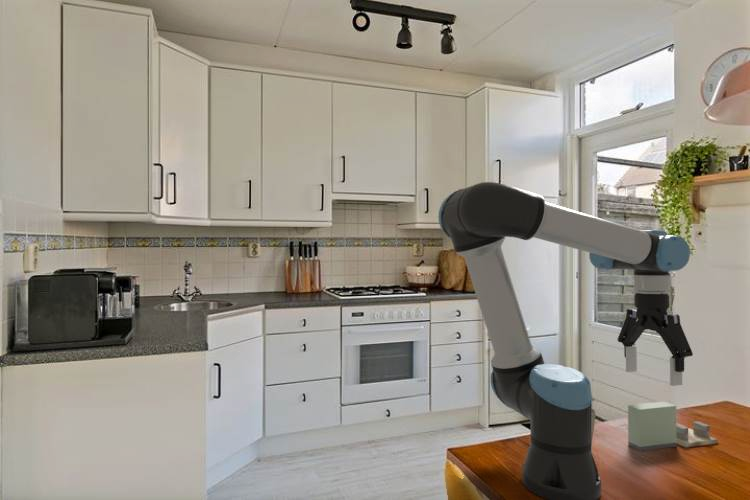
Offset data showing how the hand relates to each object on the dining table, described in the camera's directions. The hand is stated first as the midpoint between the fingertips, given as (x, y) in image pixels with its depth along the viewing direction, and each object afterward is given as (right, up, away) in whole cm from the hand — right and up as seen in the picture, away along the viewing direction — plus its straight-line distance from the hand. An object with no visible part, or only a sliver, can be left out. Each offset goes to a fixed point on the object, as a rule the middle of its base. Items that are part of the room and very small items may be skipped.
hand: (652, 378), depth 118 cm
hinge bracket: (+10, -17, +8) cm, 21 cm away
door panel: (0, -17, 0) cm, 17 cm away
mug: (-21, -17, -6) cm, 27 cm away
